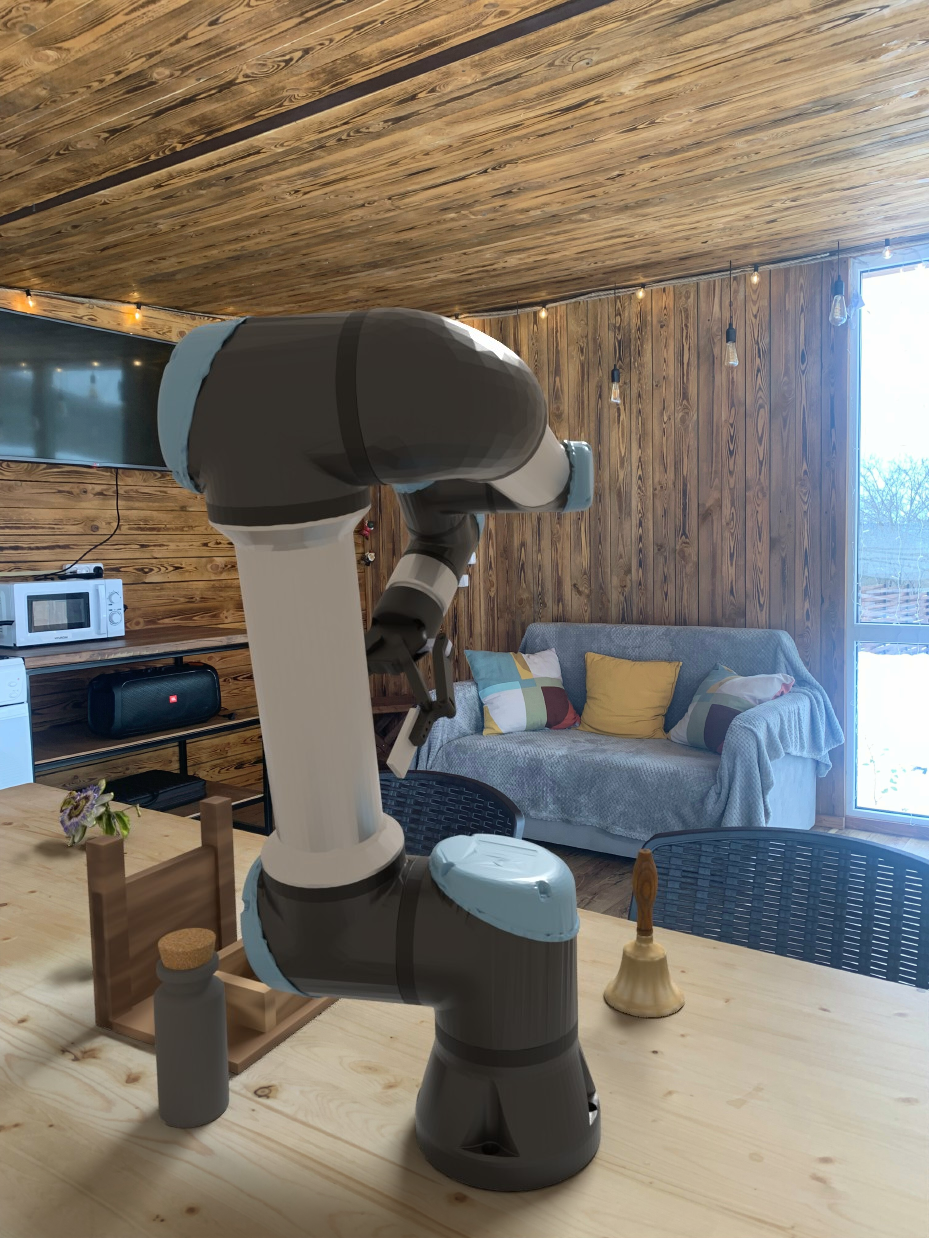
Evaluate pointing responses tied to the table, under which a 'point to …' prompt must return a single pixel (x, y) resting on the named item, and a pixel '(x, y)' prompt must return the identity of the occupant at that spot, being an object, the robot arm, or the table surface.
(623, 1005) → the hand bell
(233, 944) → the wooden holder stand
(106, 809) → the passion flower
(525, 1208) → the table surface
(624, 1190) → the table surface
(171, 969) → the bottle
